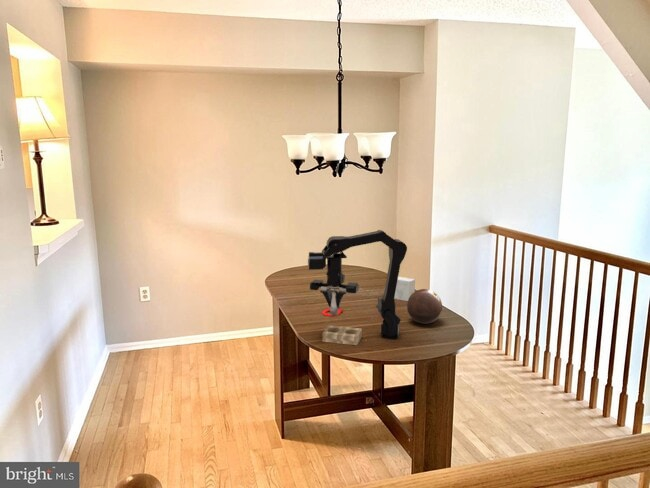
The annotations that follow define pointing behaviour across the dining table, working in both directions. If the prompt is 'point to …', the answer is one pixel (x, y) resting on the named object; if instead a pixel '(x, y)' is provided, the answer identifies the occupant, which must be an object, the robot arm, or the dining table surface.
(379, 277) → the dining table surface
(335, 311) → the metal pin
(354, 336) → the pin block
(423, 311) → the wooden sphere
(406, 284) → the skincare box
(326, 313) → the tow hook
